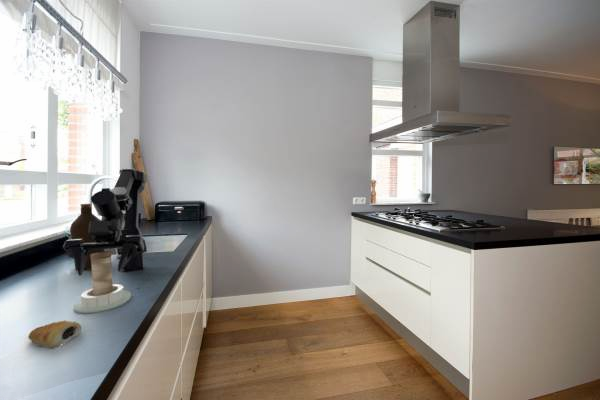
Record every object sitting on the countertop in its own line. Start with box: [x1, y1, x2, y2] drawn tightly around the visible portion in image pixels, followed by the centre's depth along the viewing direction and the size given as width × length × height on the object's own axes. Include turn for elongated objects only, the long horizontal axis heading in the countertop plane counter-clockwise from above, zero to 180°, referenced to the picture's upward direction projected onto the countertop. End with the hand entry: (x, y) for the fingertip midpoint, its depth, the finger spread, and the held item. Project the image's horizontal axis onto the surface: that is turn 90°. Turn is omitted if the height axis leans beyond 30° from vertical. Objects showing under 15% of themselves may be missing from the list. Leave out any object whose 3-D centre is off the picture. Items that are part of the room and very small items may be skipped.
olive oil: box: [69, 203, 105, 271], centre depth 110 cm, size 11×11×25 cm
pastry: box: [27, 320, 82, 349], centre depth 60 cm, size 9×7×4 cm
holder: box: [73, 283, 132, 314], centre depth 77 cm, size 13×13×3 cm
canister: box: [90, 250, 113, 296], centre depth 77 cm, size 5×5×13 cm
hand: (99, 272), depth 75 cm, fingers open, 9 cm apart
